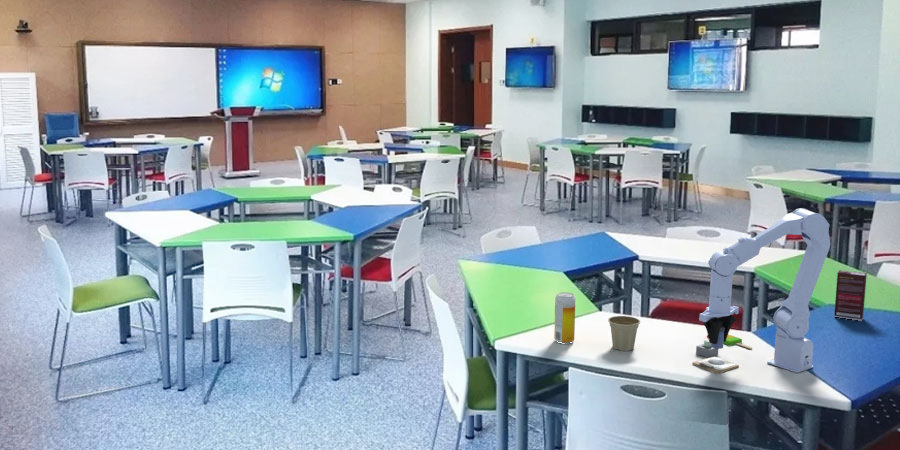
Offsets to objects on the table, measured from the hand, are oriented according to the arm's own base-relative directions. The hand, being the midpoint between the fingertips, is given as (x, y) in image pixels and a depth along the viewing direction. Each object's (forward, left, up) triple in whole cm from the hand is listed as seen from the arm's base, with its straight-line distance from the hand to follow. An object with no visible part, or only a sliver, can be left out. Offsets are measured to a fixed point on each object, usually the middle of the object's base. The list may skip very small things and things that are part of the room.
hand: (717, 342), depth 216 cm
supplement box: (+4, -74, -7) cm, 74 cm away
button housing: (+7, -5, -7) cm, 11 cm away
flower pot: (+25, +11, -7) cm, 28 cm away
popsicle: (+10, -20, -8) cm, 23 cm away
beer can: (+39, +22, -7) cm, 45 cm away
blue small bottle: (0, 0, -1) cm, 1 cm away
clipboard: (-1, +1, -7) cm, 7 cm away
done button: (+7, -5, -5) cm, 10 cm away
